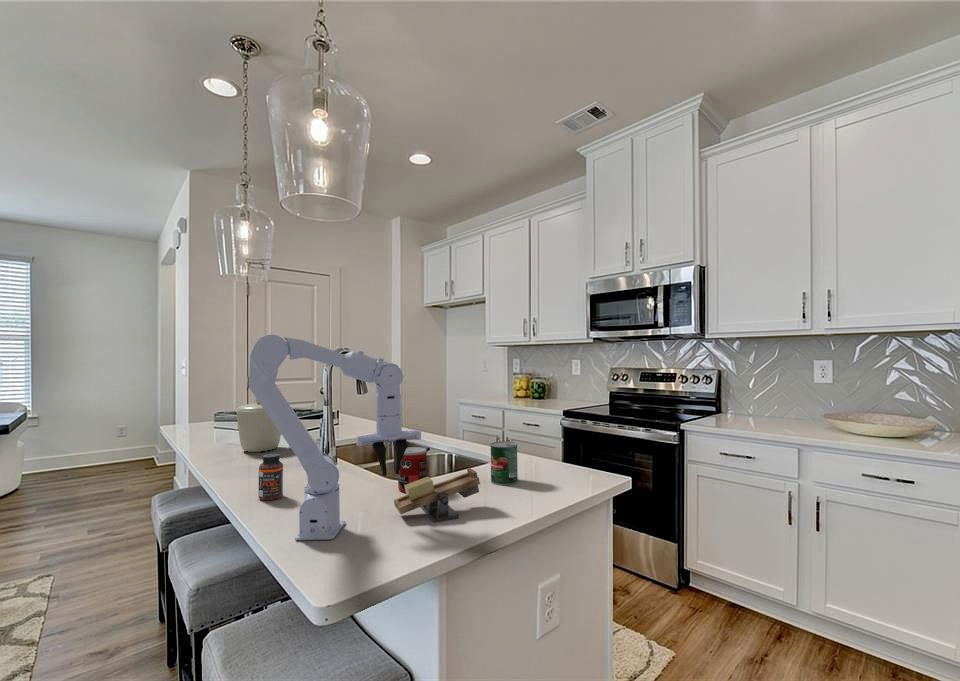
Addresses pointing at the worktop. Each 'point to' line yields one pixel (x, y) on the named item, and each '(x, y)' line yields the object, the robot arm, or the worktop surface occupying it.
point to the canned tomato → (504, 463)
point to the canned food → (412, 466)
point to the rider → (419, 489)
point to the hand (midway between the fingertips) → (390, 473)
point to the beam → (443, 491)
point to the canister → (256, 428)
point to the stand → (440, 509)
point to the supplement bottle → (270, 478)
